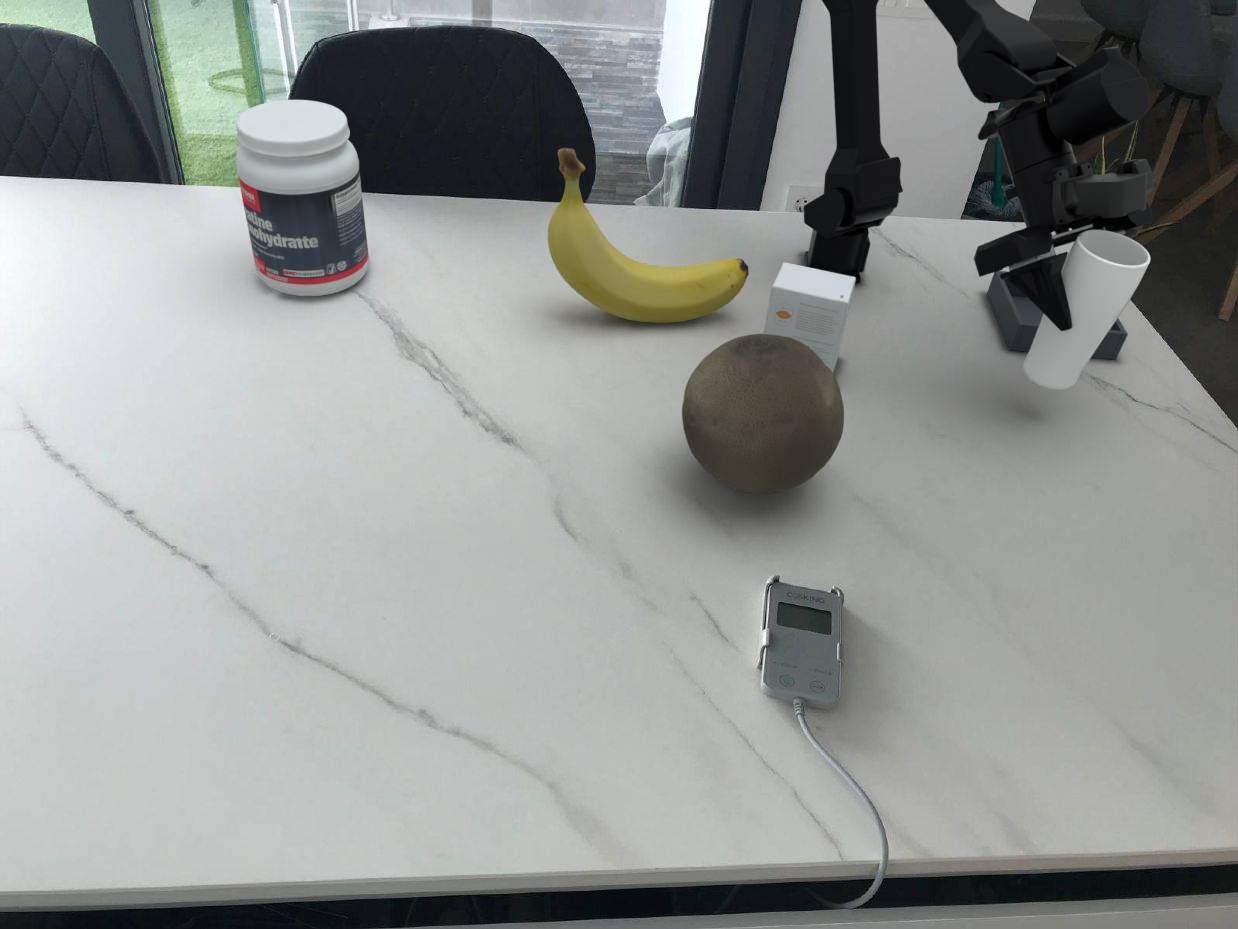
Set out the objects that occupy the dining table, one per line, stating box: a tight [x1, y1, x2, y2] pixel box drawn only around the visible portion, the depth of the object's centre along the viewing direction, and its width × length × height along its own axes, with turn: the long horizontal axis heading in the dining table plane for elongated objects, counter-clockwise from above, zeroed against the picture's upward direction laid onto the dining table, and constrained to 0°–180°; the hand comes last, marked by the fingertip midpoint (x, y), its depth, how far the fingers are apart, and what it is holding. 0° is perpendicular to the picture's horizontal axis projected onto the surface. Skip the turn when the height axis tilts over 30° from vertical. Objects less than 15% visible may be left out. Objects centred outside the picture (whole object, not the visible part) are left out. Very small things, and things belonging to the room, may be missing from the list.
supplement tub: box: [235, 99, 370, 297], centre depth 109 cm, size 13×13×18 cm
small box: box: [763, 261, 856, 374], centre depth 103 cm, size 8×6×10 cm
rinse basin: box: [986, 270, 1129, 361], centre depth 115 cm, size 12×12×4 cm
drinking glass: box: [1022, 230, 1151, 391], centre depth 95 cm, size 7×7×15 cm
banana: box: [547, 147, 750, 324], centre depth 106 cm, size 23×6×20 cm, turn 97°
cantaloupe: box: [681, 333, 845, 494], centre depth 87 cm, size 14×14×15 cm
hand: (1089, 321), depth 94 cm, fingers closed on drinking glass, 6 cm apart
